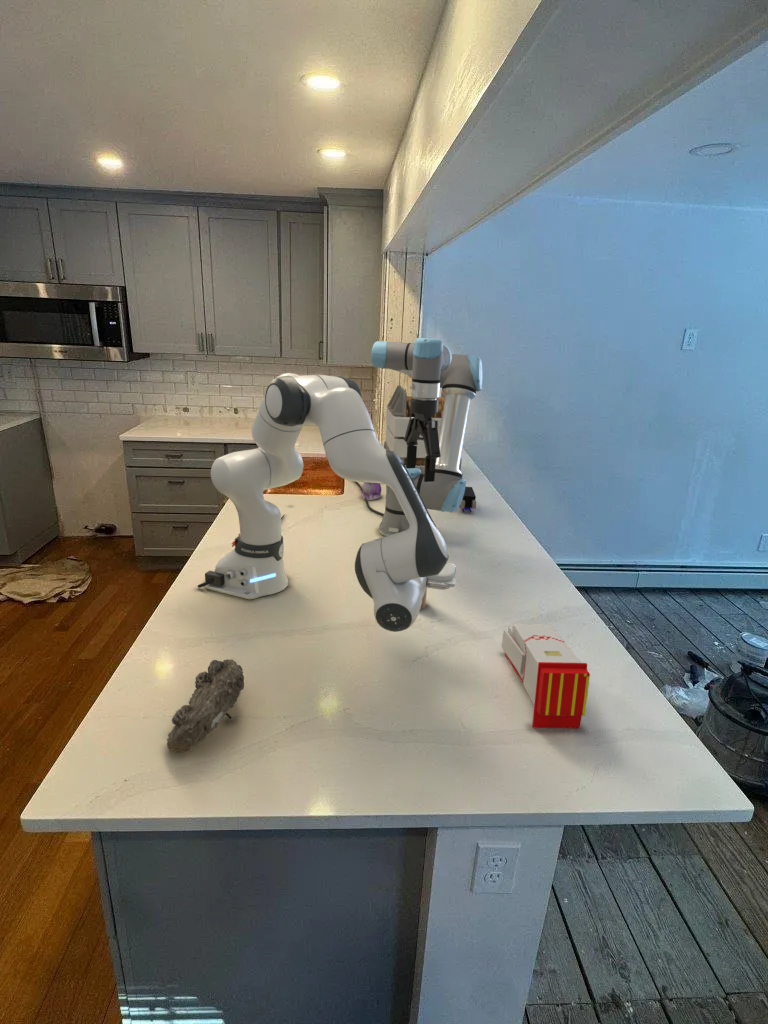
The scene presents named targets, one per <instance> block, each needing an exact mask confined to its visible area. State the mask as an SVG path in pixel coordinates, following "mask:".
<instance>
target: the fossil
mask: <svg viewBox="0 0 768 1024" xmlns="http://www.w3.org/2000/svg"><path fill="white" fill-rule="evenodd" d="M243 670H244V669H243V667H242V665H240V664H237V662H236V661H235V660H234V659H232V658H231V659H227V658H226V659H224V660H223V661H222V660H217V659H212V660H211V661H210V663H209V665H208V666H207V671H201V672H199V673H198V674H197V675H196V676H195V680H194V684H195V685H194V687H195V689H194V690H193V693H192V694H191V697H190V698H189V700H188V704H184V705H182V706H181V707H180V709H177V710H176V711H175V713H174V715H173V716H172V718H171V723H172V724H173V727H172V730H171V731H170V732H168V734H167V738H166V741H167V742H166V745H167V749H168V750H169V751H173V752H174V753H176V754H178V753H182V752H188V751H189V752H192V751H193V750H195V748H196V747H197V746H199V744H200V743H201V742H203V741H204V740H205V739H206V738H207V737H208V736H209V735H210V734H211V733H212V732H214V730H215V729H217V727H218V726H219V724H220V722H221V721H222V720H223V719H224V718H225V716H226V717H227V719H229V720H233V717H232V715H230V714H229V710H230V709H231V708H234V706H235V704H236V703H237V702H238V699H239V697H240V695H241V693H242V691H243V690H245V689H244V688H245V675H244V671H243Z"/></svg>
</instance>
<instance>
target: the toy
mask: <svg viewBox="0 0 768 1024" xmlns="http://www.w3.org/2000/svg"><path fill="white" fill-rule="evenodd" d="M507 629H508V630H507ZM507 629H503V633H502V640H501V649H502V650H503V652H504V656H505V657H506V659H507V660H508V662H509V664H510V665H511V667H512V669H513V671H514V672H515V673H516V675H517V676H518V678H519V679H520V681H521V683H522V684H523V687H524V688H525V690H526V692H527V694H528V696H529V698H530V700H531V702H532V704H533V715H532V726H531V727H532V728H533V729H581V723H582V717H585V716H586V710H587V701H588V695H589V694H588V693H589V685H590V677H591V674H590V672H589V671H588V663H587V662H581V660H580V659H579V658H578V657H577V655H576V654H575V652H573V651H572V649H571V647H570V646H569V645H568V644H567V643H566V641H565V640H564V639H563V638H562V636H561V635H560V634H559V632H558V630H556V629H555V627H554V626H553V624H539V623H538V624H536V623H535V624H532V623H531V624H530V623H512V625H511V626H510V625H508V628H507Z"/></svg>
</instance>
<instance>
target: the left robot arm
mask: <svg viewBox="0 0 768 1024" xmlns="http://www.w3.org/2000/svg"><path fill="white" fill-rule="evenodd" d="M362 397H363V396H362V393H361V389H360V387H359V385H358V384H357V382H356V381H355V380H354V379H351V378H350V377H349V378H348V377H345V376H341V375H336V376H333V375H327V374H306V375H305V374H304V375H299V374H297V373H293V372H285V373H282V374H279V375H278V376H276V378H273V379H272V380H270V382H269V384H268V386H267V387H266V390H265V395H264V396H263V399H262V401H261V403H260V405H259V408H258V410H257V414H256V416H255V418H254V421H253V424H252V427H251V436H252V440H253V441H254V444H256V446H257V447H256V448H251V449H245V450H238V451H233V452H230V453H227V454H224V455H222V456H219V457H217V458H215V460H214V461H213V463H212V465H211V468H210V480H211V482H212V485H213V487H214V488H215V489H216V490H217V491H218V492H219V493H220V494H222V495H224V496H225V497H227V498H228V499H229V500H230V501H231V502H232V503H233V505H234V507H235V510H236V512H237V515H238V523H239V533H238V535H237V536H236V537H235V538H234V540H233V541H232V542H231V547H232V548H233V547H234V548H233V549H231V551H229V552H227V553H226V554H224V556H222V557H221V558H220V559H219V560H218V561H217V562H216V565H215V568H214V571H213V570H208V571H207V572H205V573H204V580H205V581H204V582H202V583H199V584H197V588H198V589H200V588H203V587H205V588H206V589H208V590H211V591H215V592H218V593H222V594H227V595H230V596H233V597H238V598H242V599H245V600H254V599H257V598H260V597H265V596H270V595H275V594H277V593H279V592H283V590H286V588H287V587H288V586H289V579H288V577H287V573H286V569H285V562H284V553H285V544H284V536H283V535H282V520H281V518H282V512H281V510H280V508H279V507H278V506H277V505H276V504H274V503H273V502H270V501H268V500H265V498H264V491H266V490H271V489H275V488H279V487H284V486H286V485H289V484H291V483H293V482H295V481H297V480H299V479H301V476H302V474H303V472H304V460H303V457H302V455H301V453H300V451H299V450H298V449H297V448H296V443H297V441H298V438H299V435H300V433H301V431H302V429H303V427H318V429H319V433H320V437H321V441H322V446H323V450H324V453H325V456H326V459H327V462H328V464H329V467H330V469H331V470H332V471H333V472H334V473H335V474H336V475H337V476H338V477H340V478H342V479H344V480H347V481H350V482H354V481H355V482H358V483H364V482H367V483H380V485H381V484H382V485H385V486H386V485H387V486H389V487H390V488H391V489H392V490H393V491H394V493H395V495H396V497H397V499H398V501H399V503H400V505H401V507H402V509H403V512H404V514H405V516H406V518H407V520H408V522H409V524H410V527H409V529H407V530H405V531H402V532H399V533H396V534H393V535H390V536H386V537H384V536H382V537H379V538H376V539H372V540H370V541H367V542H363V543H361V545H360V547H359V548H358V550H357V553H356V556H355V560H354V573H355V576H356V579H357V581H358V584H359V586H360V587H361V589H362V590H363V592H365V593H366V595H368V597H369V598H371V599H372V601H373V615H374V618H375V621H376V623H377V625H378V626H380V627H381V628H382V629H384V630H386V631H388V632H394V633H395V632H402V631H405V630H407V629H408V628H410V627H411V626H412V625H414V623H415V622H416V620H417V618H418V616H419V614H420V611H421V609H420V608H421V604H422V598H423V596H424V593H425V589H426V588H427V589H432V590H433V589H435V590H442V591H443V590H444V591H445V590H449V589H450V588H454V587H455V585H456V573H457V572H456V571H457V566H456V564H454V563H452V562H448V561H449V558H450V554H449V548H448V545H447V543H446V540H445V538H444V536H443V535H442V533H441V532H440V530H439V529H438V527H437V525H436V524H435V522H434V520H433V517H432V516H431V513H430V512H429V509H427V508H426V506H425V504H424V502H423V500H422V498H421V496H420V494H419V492H418V490H417V488H416V486H415V484H414V482H413V480H412V478H411V476H410V474H409V472H408V471H407V469H406V465H404V463H403V462H402V460H401V459H400V458H399V456H398V455H397V454H396V453H395V452H393V451H388V450H386V449H385V448H384V445H382V444H381V442H380V441H379V438H378V436H377V433H376V430H375V427H374V423H373V421H372V419H371V415H370V413H369V410H368V409H367V406H366V404H365V403H364V401H363V399H362ZM355 482H354V483H355Z"/></svg>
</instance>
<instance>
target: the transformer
mask: <svg viewBox="0 0 768 1024" xmlns="http://www.w3.org/2000/svg"><path fill="white" fill-rule="evenodd" d="M440 393H441V394H440V396H439V397H438V398H437V400H438V401H439V402H438V412H437V413H436V414H433V415H432V420H437V421H438V438H439V432H440V426H441V420H442V414H443V408H444V402H445V396H444V394H443V393H442V391H441V392H440ZM407 394H408V393H407V390H406V389H404V388H403V387H402V385H399V384H398V385H397V386H396V388H395V390H394V392H393V394H392V395H391V398H390V400H389V402H388V404H387V405H386V413H385V414H386V415H385V423H386V428H385V438H384V442H383V447H384V448H385V449H386V450H388V451H393V452H395V453H396V454H397V455H398V456H399V458H400V459H401V460H402V462H403V463H404V465H405V466H406V460H407V446H408V445H407V444H406V442H405V441H404V438H405V435H406V431H407V427H408V423H409V419H410V412H411V411H410V402H411V399H412V398H413V397H412V396H411V395H407ZM417 443H418V445H414V446H417V454H416V467H417V466H418V467H425V460H426V459H425V457H426V456H427V453H426V449H425V444H424V439H423V437H422V436H421V434H420V436H419V438H418V440H417ZM462 461H463V460H462V457H461V459H460V465H459V470H460V471H461V472H462Z"/></svg>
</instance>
